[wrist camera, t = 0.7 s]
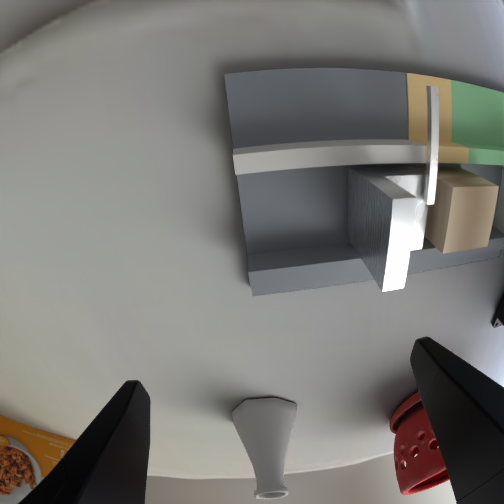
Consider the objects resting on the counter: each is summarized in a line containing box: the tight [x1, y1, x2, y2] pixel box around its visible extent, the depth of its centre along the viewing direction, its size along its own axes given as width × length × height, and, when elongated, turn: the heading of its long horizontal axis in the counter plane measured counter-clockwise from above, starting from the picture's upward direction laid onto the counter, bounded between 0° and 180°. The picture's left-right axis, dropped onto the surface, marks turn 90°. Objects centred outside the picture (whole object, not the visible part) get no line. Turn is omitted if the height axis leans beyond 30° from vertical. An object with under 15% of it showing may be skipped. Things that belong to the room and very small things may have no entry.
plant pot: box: [390, 392, 450, 495], centre depth 27 cm, size 13×13×12 cm
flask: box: [231, 398, 297, 499], centre depth 25 cm, size 7×7×10 cm
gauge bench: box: [224, 68, 504, 296], centre depth 15 cm, size 22×14×6 cm, turn 96°
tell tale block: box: [419, 167, 499, 254], centre depth 16 cm, size 4×4×4 cm
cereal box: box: [0, 415, 75, 504], centre depth 23 cm, size 22×6×30 cm, turn 88°
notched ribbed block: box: [347, 86, 439, 292], centre depth 14 cm, size 4×10×6 cm, turn 6°
